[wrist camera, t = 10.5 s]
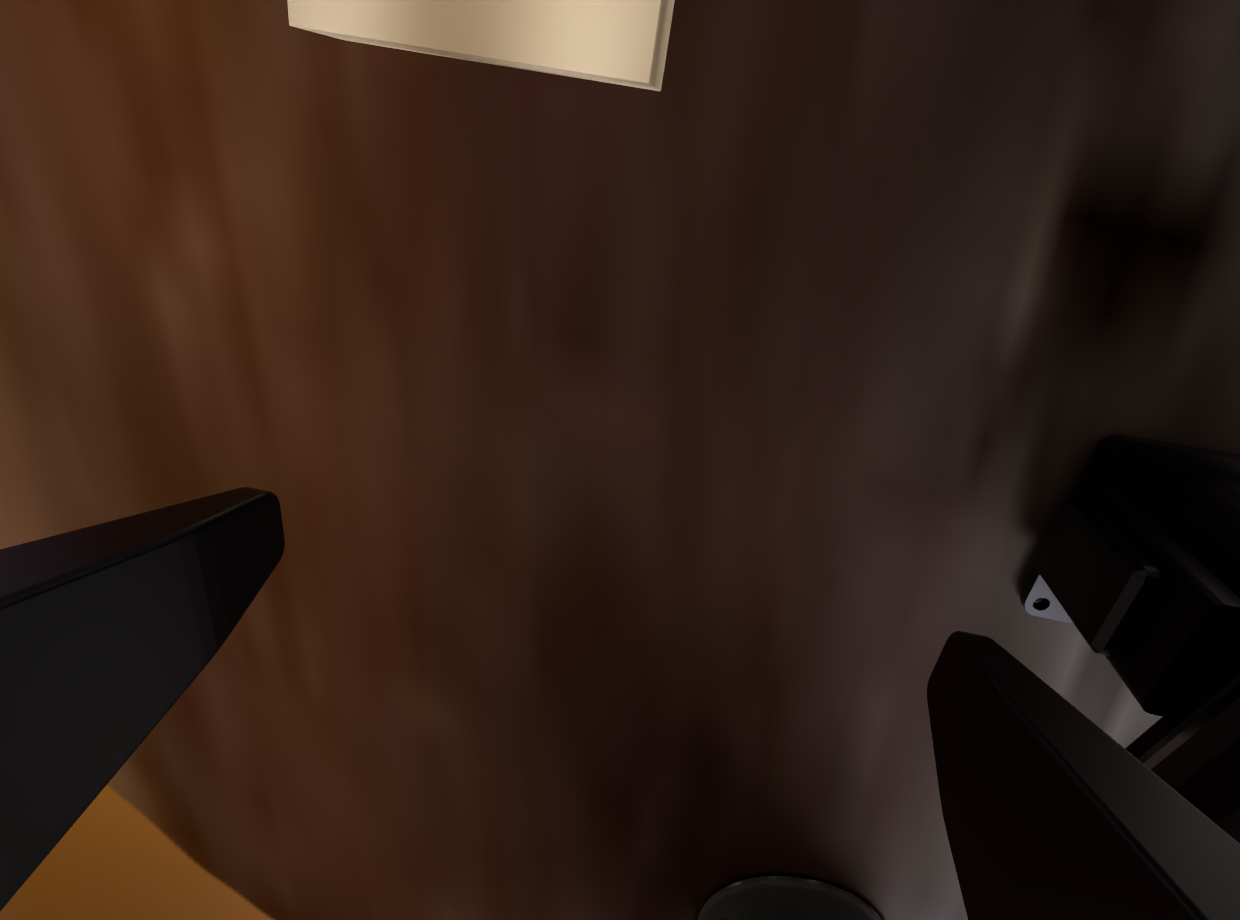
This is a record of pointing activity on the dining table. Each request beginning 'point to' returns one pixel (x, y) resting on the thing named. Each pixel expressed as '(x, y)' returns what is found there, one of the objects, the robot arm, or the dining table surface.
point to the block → (510, 32)
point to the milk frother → (785, 901)
